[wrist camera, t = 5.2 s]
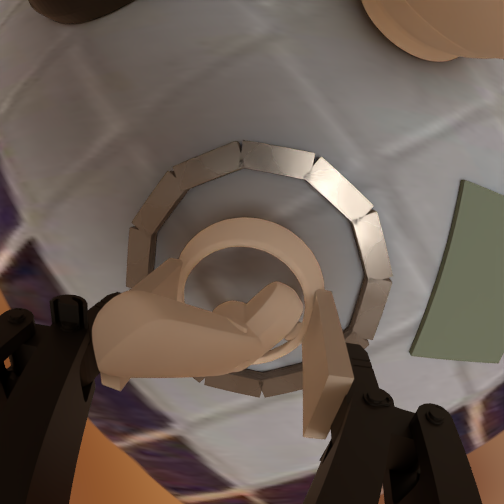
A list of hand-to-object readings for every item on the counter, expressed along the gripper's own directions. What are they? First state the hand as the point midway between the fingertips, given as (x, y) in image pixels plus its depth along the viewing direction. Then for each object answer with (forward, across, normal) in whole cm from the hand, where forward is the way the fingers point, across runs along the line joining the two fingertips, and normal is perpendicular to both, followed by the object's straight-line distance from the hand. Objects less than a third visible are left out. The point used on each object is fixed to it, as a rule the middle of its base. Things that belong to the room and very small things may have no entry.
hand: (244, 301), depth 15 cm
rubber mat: (+5, +16, +2) cm, 17 cm away
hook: (+1, 0, 0) cm, 1 cm away
